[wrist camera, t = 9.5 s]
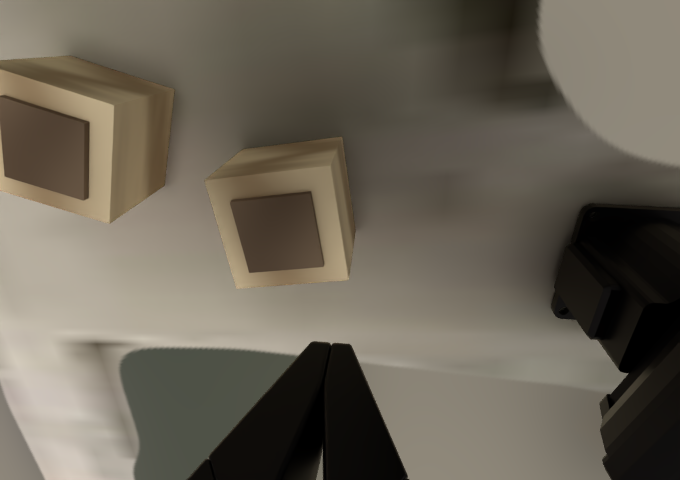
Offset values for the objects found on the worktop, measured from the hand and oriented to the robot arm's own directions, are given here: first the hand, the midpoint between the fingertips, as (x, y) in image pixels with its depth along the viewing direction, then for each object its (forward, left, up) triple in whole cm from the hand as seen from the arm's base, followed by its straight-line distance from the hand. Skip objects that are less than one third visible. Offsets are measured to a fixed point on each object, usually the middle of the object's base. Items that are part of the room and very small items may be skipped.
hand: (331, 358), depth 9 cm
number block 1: (+12, -2, -13) cm, 18 cm away
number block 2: (+3, +1, -13) cm, 13 cm away
